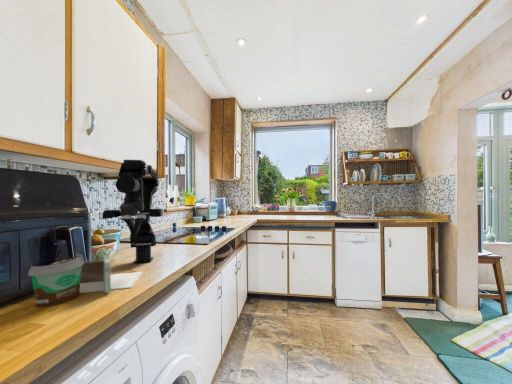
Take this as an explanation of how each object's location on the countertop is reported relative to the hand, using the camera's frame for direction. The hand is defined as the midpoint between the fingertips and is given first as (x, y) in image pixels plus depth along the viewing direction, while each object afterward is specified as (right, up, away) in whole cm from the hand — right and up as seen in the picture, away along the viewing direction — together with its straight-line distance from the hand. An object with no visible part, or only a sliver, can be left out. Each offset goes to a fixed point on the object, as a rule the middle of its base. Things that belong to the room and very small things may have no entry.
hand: (134, 237), depth 83 cm
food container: (-5, -11, -23) cm, 27 cm away
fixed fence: (-7, -12, -11) cm, 18 cm away
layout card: (-2, -12, -12) cm, 17 cm away
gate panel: (0, -11, -16) cm, 19 cm away
